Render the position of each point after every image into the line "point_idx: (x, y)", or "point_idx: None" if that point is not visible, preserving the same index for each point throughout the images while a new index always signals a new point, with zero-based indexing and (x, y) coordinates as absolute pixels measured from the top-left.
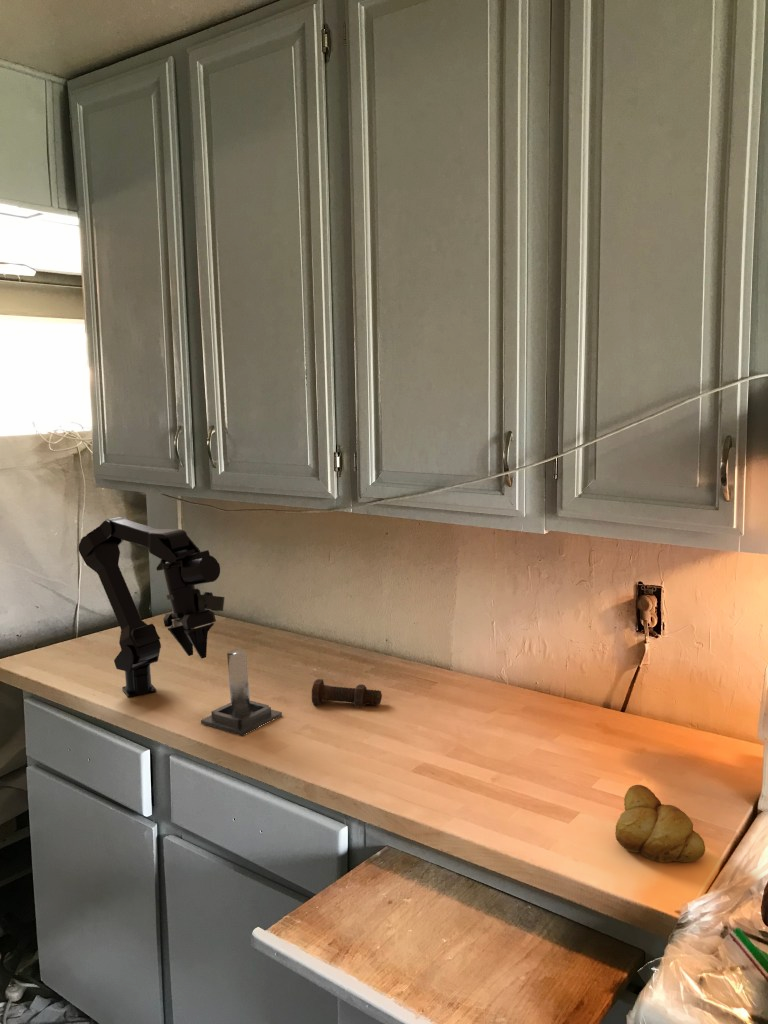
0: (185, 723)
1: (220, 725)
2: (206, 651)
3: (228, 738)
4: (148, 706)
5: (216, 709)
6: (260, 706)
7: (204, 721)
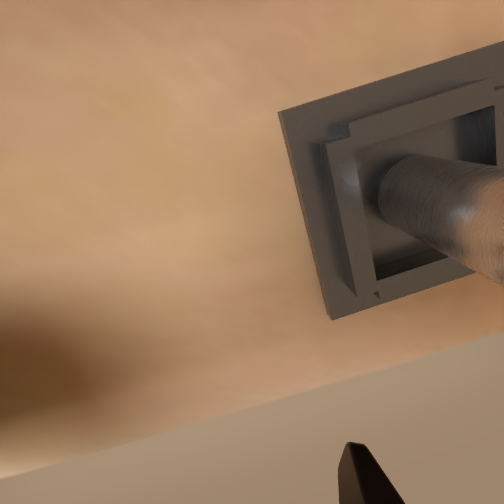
0: (287, 349)
1: (421, 288)
2: (394, 489)
3: (485, 292)
4: (47, 396)
5: (356, 275)
6: (467, 112)
7: (348, 313)
